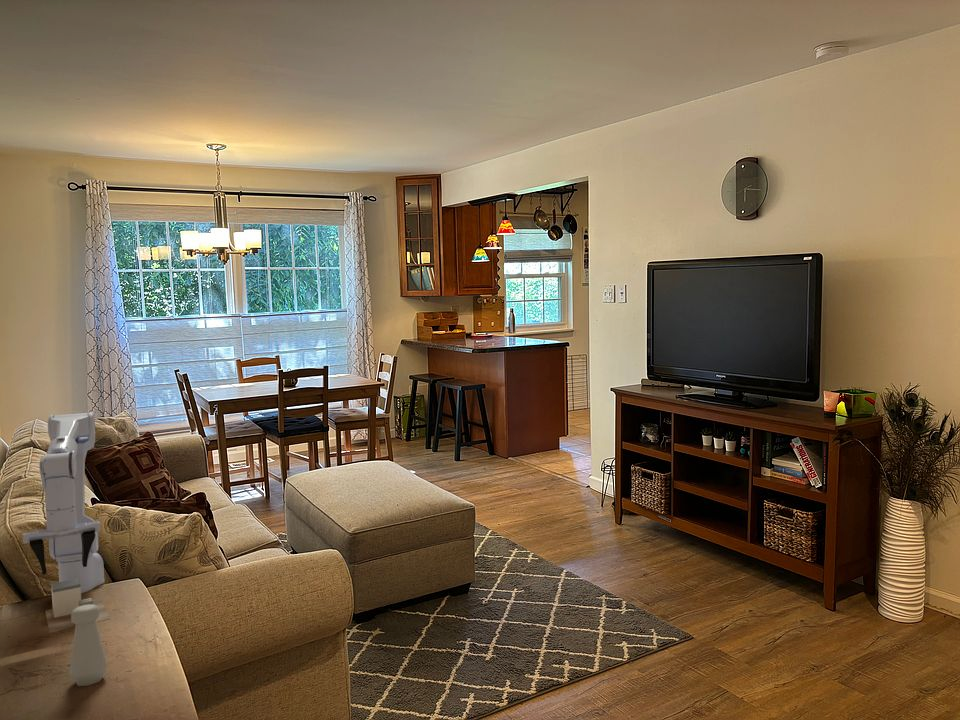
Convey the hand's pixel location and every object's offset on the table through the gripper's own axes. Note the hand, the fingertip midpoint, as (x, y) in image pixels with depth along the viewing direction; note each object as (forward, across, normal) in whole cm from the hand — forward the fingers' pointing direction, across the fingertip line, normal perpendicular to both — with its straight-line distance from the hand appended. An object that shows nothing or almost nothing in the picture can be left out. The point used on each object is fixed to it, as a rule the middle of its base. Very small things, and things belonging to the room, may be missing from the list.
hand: (64, 569), depth 158 cm
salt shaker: (+11, 0, -39) cm, 41 cm away
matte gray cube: (+9, 0, 0) cm, 9 cm away
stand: (+10, +2, -4) cm, 11 cm away
